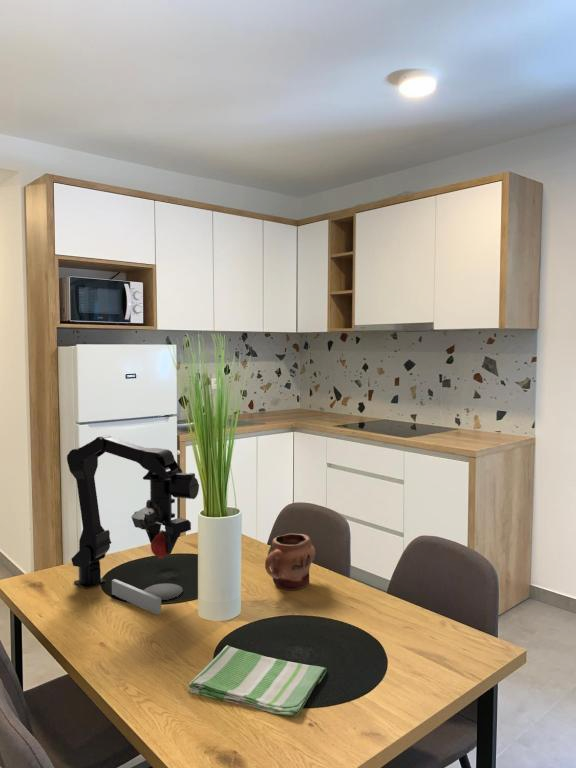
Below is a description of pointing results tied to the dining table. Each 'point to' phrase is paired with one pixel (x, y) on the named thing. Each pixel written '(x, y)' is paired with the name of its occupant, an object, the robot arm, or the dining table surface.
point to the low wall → (136, 596)
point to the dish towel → (257, 681)
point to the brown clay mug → (290, 560)
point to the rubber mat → (165, 590)
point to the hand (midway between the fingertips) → (161, 551)
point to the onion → (159, 545)
